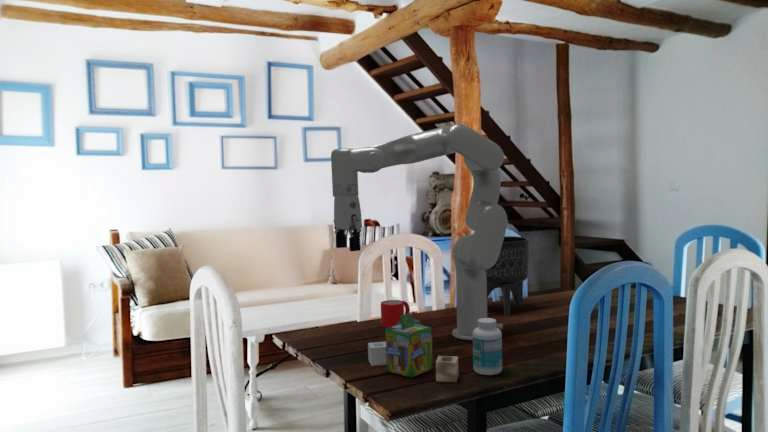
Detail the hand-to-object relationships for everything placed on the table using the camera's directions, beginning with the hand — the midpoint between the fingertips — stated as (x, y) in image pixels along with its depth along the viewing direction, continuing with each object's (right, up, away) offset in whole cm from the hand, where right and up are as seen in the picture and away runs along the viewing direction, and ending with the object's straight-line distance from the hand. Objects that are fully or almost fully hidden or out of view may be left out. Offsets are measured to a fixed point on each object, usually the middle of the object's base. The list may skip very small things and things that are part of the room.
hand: (348, 249), depth 176 cm
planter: (+55, -25, +45) cm, 75 cm away
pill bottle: (+37, -31, -21) cm, 53 cm away
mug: (+15, -28, +30) cm, 44 cm away
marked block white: (+9, -31, -11) cm, 34 cm away
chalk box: (+17, -31, -19) cm, 40 cm away
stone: (+18, -30, +1) cm, 35 cm away
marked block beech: (+27, -31, -26) cm, 48 cm away
